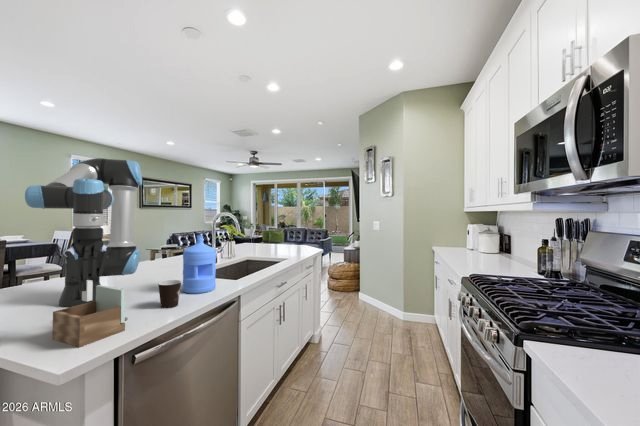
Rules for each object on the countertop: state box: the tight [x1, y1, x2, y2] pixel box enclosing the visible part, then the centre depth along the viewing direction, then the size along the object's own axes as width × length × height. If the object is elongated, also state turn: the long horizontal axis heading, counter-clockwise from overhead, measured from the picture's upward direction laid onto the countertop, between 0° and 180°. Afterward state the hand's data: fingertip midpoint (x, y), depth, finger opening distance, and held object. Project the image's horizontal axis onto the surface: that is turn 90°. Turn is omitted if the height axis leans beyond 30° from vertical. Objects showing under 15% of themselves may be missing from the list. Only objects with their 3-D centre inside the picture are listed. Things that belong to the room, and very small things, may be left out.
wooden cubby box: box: [52, 301, 126, 348], centre depth 90 cm, size 14×13×8 cm
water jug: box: [182, 235, 217, 295], centre depth 142 cm, size 16×16×28 cm
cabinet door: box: [96, 285, 129, 323], centre depth 96 cm, size 2×14×11 cm, turn 68°
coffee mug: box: [157, 279, 182, 309], centre depth 119 cm, size 12×9×10 cm
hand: (87, 300), depth 89 cm, fingers closed
